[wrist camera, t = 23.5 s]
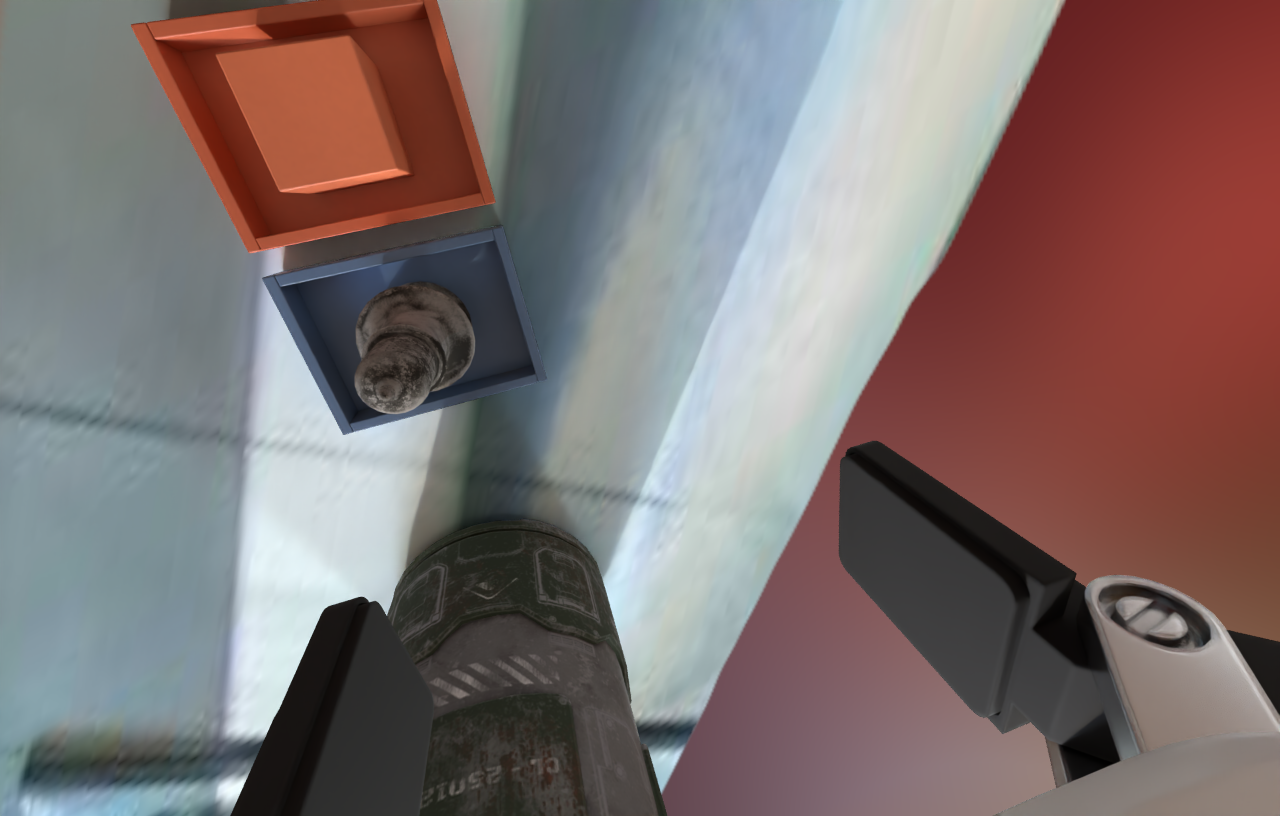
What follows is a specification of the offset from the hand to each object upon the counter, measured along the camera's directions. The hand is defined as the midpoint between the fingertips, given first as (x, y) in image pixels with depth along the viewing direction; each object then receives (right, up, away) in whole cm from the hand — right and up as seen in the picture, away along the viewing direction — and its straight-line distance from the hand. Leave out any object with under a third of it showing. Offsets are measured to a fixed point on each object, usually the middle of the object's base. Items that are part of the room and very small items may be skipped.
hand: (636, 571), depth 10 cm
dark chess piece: (-13, +8, +19) cm, 25 cm away
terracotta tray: (-15, +18, +15) cm, 28 cm away
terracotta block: (-15, +17, +15) cm, 27 cm away
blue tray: (-13, +8, +20) cm, 25 cm away
